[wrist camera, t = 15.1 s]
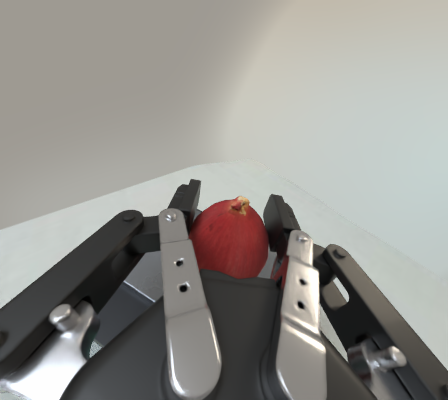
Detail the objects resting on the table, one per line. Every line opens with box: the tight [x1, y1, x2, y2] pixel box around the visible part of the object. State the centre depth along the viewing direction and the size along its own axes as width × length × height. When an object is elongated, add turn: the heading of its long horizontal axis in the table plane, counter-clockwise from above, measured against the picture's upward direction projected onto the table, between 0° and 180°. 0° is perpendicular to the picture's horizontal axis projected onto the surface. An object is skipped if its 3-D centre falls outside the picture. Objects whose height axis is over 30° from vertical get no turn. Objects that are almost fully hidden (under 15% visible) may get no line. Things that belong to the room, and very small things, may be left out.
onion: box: [189, 196, 269, 279], centre depth 12 cm, size 6×6×8 cm
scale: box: [93, 209, 277, 348], centre depth 15 cm, size 16×14×3 cm
